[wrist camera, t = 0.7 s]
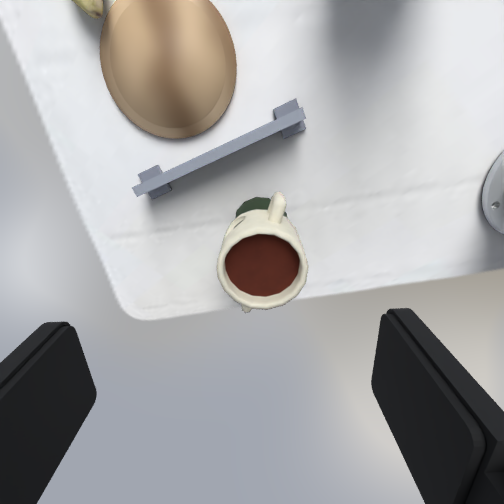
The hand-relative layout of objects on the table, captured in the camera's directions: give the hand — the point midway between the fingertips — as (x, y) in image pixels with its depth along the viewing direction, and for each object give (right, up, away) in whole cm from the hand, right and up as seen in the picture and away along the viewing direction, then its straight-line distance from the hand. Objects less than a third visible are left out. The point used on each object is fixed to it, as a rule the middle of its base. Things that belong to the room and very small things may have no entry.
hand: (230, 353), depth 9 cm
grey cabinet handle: (-3, +14, +22) cm, 26 cm away
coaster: (-7, +21, +19) cm, 30 cm away
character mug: (+2, +7, +25) cm, 26 cm away
